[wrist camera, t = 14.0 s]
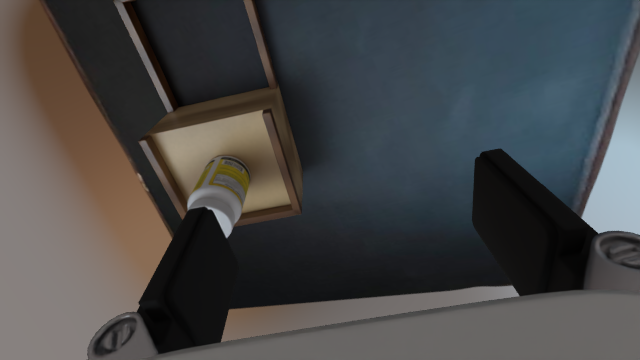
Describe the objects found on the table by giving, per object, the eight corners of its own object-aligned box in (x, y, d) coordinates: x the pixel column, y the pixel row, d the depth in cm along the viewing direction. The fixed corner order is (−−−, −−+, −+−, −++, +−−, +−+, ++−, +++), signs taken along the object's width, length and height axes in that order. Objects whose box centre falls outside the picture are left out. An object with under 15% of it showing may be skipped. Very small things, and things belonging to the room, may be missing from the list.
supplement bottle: (215, 196, 35) (191, 250, 28) (198, 159, 33) (167, 208, 26) (257, 188, 35) (243, 241, 28) (243, 150, 32) (224, 197, 25)
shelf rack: (118, -6, 32) (56, -1, 24) (243, -39, 31) (221, -45, 23) (211, 190, 44) (190, 235, 37) (303, 172, 43) (301, 214, 35)
